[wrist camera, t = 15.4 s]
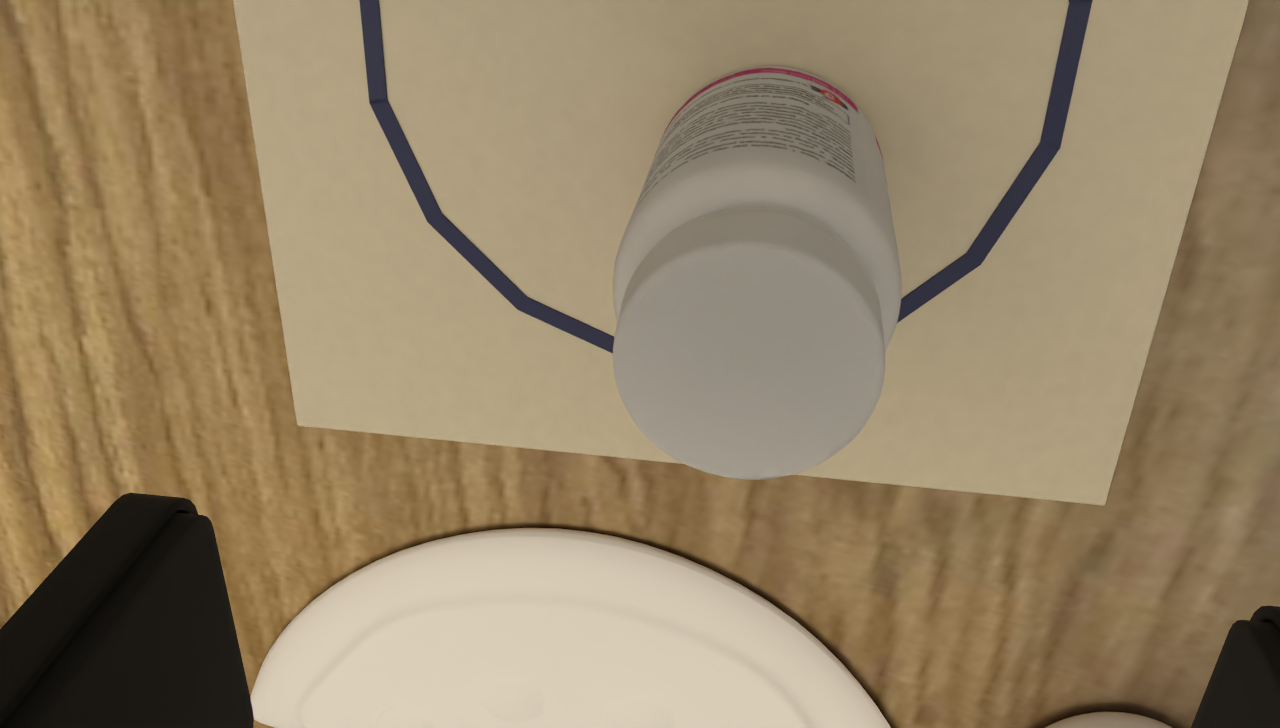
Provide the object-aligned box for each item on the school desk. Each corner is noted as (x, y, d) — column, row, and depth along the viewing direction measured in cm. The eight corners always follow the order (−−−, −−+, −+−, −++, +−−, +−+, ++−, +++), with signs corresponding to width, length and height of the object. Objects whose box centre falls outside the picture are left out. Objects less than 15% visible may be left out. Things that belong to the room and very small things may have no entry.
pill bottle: (610, 152, 23) (518, 331, 16) (794, 12, 21) (785, 143, 14) (743, 316, 25) (714, 549, 17) (927, 198, 23) (980, 405, 16)
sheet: (152, -580, 19) (141, -586, 18) (1410, -587, 16) (1421, -593, 16) (301, 420, 28) (295, 427, 28) (1102, 498, 26) (1105, 507, 26)
